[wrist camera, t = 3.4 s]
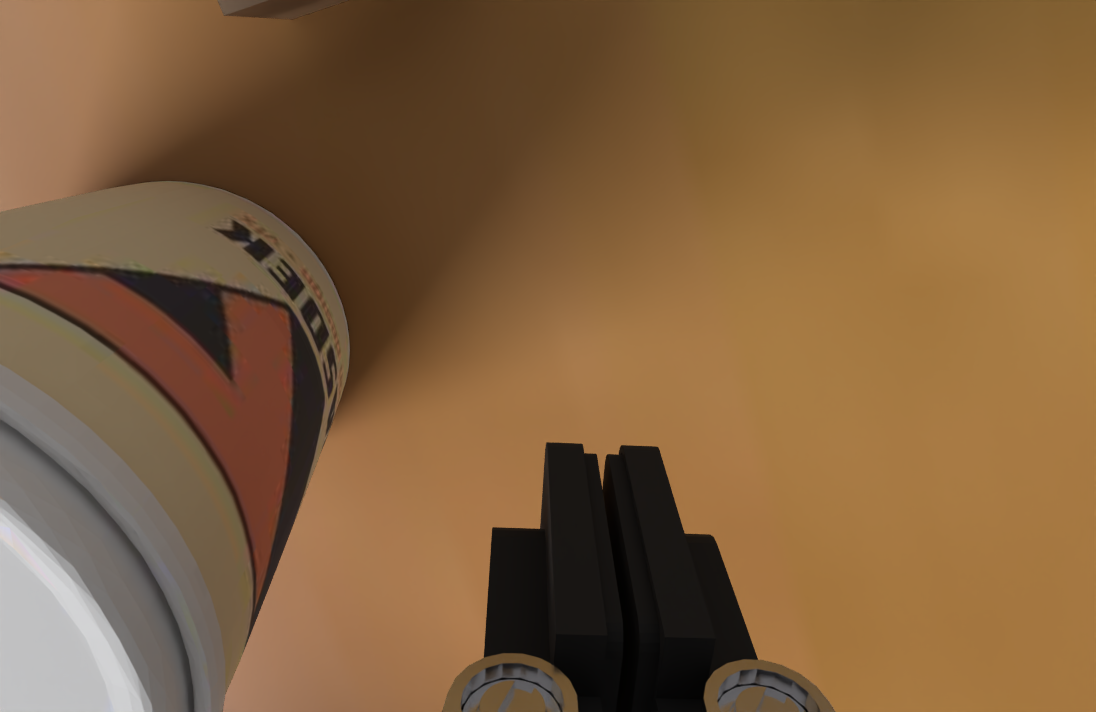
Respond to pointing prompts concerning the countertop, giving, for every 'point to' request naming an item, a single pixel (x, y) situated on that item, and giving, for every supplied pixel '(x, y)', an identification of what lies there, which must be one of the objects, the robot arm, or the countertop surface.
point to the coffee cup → (152, 438)
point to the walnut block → (274, 7)
